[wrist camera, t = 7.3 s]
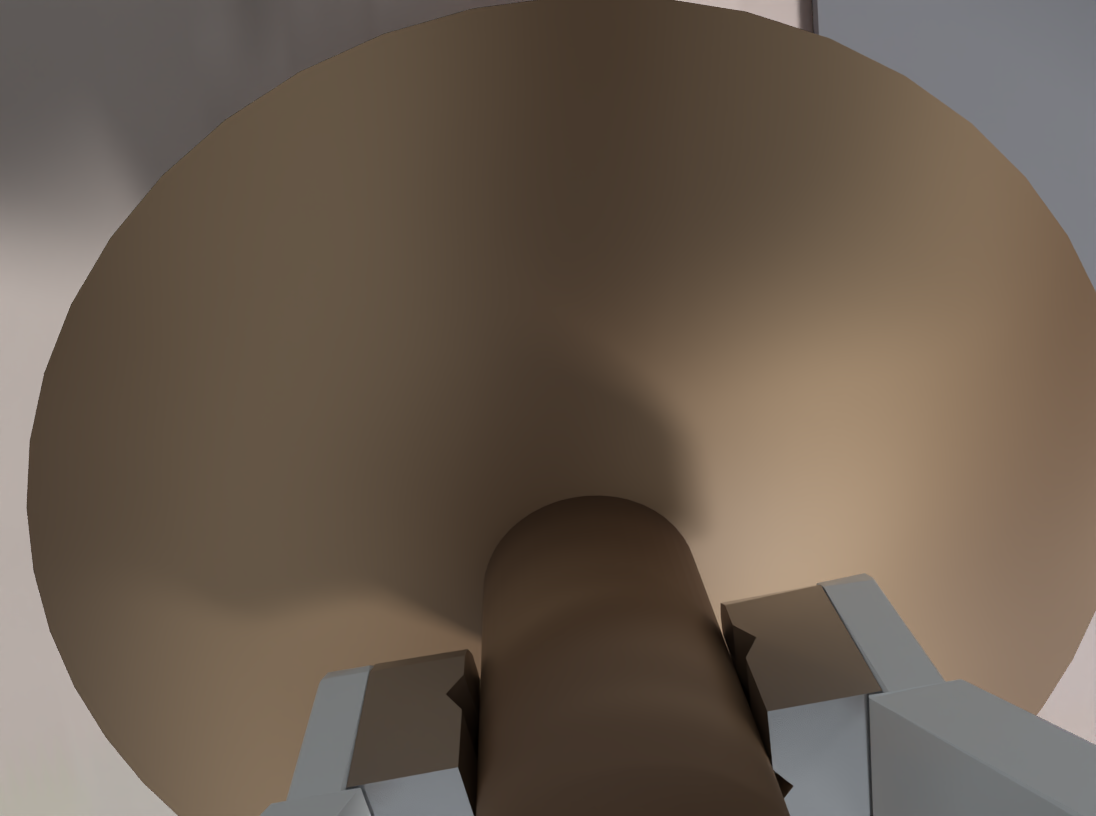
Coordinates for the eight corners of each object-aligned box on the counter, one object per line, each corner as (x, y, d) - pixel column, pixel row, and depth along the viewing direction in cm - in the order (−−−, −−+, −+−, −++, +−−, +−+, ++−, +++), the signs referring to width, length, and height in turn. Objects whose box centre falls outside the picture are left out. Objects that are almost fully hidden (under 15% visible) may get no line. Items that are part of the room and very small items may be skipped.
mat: (1380, -192, 21) (1397, -197, 20) (1279, 341, 26) (1290, 346, 26) (808, -77, 21) (813, -79, 21) (831, 424, 27) (836, 429, 26)
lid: (1112, -122, 8) (1833, -318, 4) (1050, 808, 14) (1330, 1196, 9) (-136, 139, 9) (-824, 242, 4) (263, 948, 14) (146, 1390, 9)
